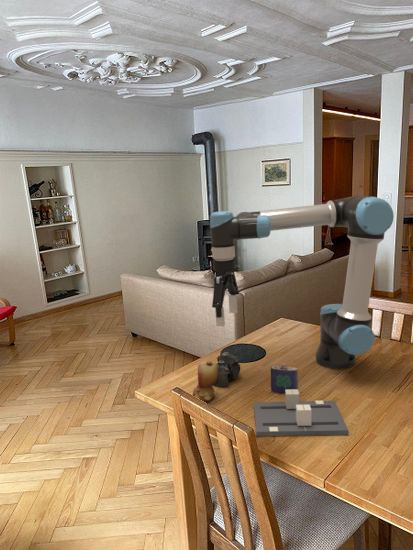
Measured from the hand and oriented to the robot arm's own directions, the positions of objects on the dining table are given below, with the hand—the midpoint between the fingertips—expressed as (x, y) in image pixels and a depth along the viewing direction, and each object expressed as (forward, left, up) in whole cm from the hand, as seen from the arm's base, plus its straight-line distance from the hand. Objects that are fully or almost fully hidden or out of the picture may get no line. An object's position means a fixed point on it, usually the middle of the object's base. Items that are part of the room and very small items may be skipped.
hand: (227, 319), depth 141 cm
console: (-21, +21, -26) cm, 39 cm away
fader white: (-22, +25, -24) cm, 41 cm away
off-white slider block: (-20, +16, -24) cm, 35 cm away
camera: (+1, -7, -26) cm, 27 cm away
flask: (-19, +4, -26) cm, 32 cm away
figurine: (+8, +7, -26) cm, 28 cm away
